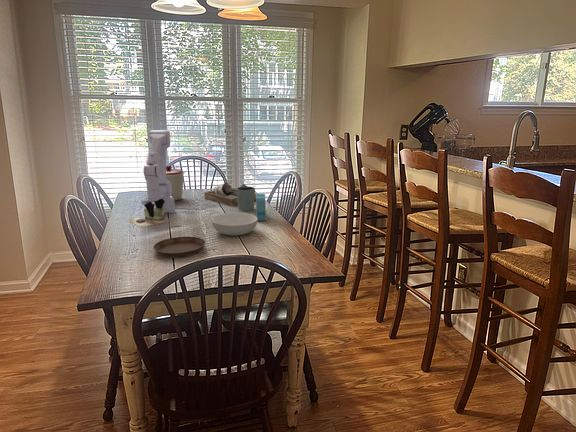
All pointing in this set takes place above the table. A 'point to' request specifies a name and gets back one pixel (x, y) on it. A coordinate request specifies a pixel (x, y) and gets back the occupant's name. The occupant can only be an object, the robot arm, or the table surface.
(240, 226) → the serving bowl
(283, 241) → the table surface
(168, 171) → the canister
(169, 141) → the robot arm
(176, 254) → the plant saucer
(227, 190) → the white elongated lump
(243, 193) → the green lidded jar
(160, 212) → the block
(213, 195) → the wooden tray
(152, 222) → the board
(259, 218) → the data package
